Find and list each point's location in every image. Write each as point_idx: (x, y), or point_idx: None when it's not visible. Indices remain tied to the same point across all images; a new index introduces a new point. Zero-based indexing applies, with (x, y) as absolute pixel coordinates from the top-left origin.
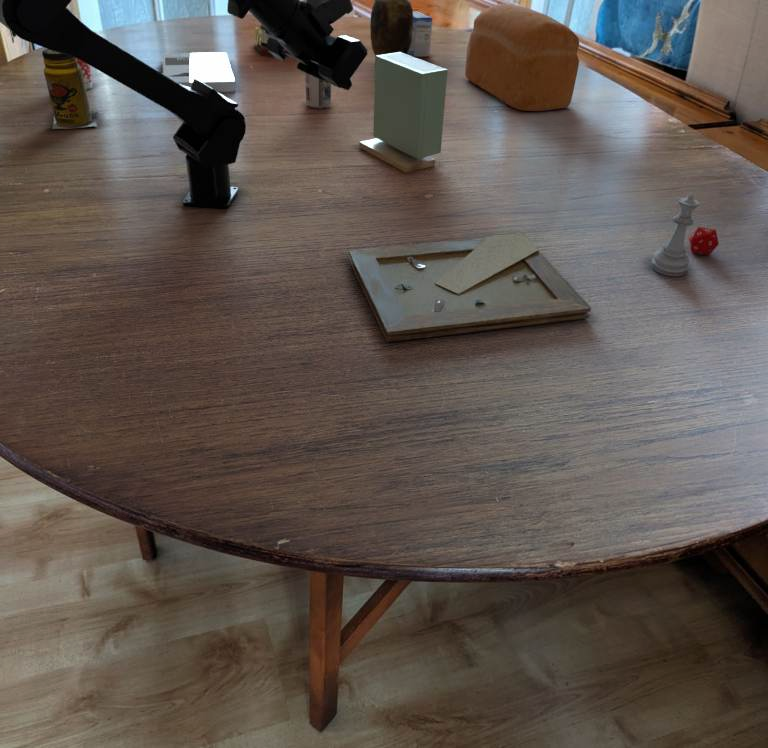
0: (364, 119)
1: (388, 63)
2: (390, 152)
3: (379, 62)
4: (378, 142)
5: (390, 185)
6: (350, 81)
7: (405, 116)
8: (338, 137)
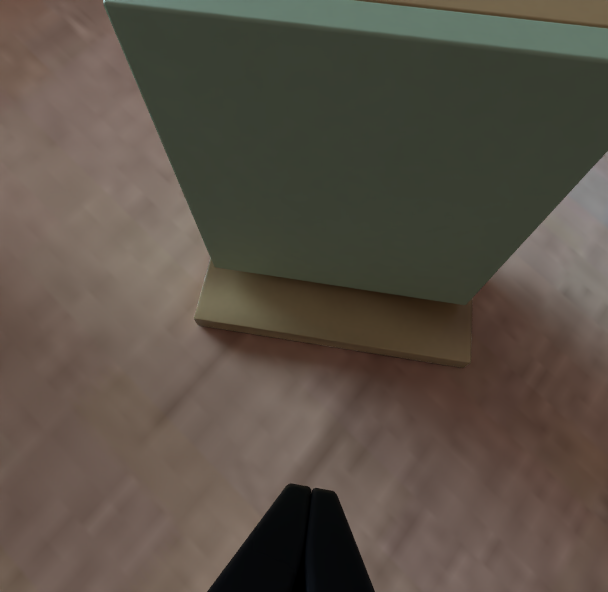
0: (44, 147)
1: (269, 39)
2: (338, 309)
3: (166, 41)
4: (245, 275)
5: (525, 493)
6: (346, 526)
7: (420, 231)
8: (80, 312)
